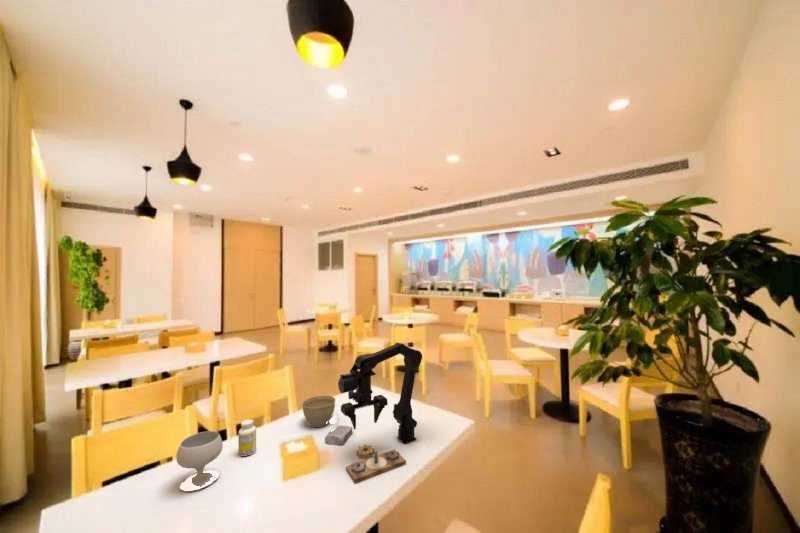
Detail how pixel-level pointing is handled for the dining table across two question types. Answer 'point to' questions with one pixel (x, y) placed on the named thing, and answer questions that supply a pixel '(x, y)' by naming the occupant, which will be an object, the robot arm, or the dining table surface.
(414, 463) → the dining table surface
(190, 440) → the chalice
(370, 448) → the wooden gear
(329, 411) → the planter bowl
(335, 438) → the stone block
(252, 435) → the supplement bottle
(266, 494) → the dining table surface
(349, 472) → the gear board
